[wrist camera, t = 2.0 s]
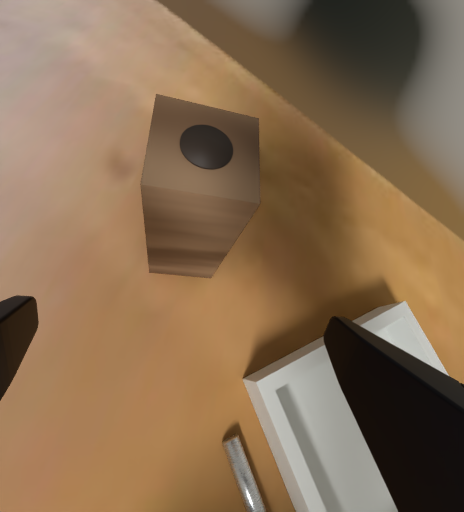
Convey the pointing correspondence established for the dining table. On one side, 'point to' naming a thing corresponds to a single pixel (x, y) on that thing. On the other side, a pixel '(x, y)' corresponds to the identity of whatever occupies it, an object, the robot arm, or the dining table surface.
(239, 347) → the dining table surface
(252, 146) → the walnut block
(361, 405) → the robot arm
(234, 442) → the steel pin
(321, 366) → the tray
